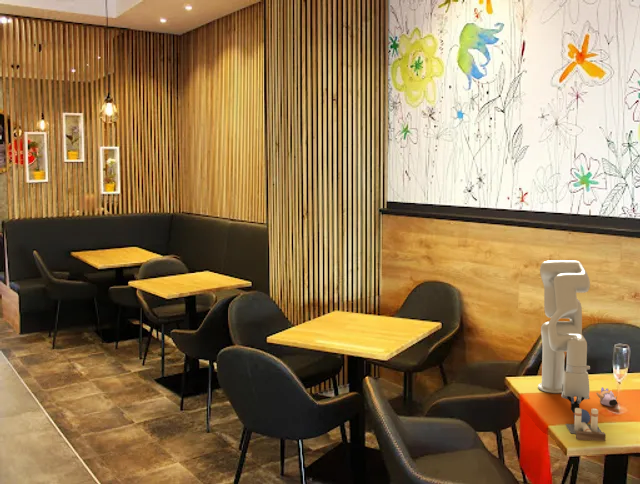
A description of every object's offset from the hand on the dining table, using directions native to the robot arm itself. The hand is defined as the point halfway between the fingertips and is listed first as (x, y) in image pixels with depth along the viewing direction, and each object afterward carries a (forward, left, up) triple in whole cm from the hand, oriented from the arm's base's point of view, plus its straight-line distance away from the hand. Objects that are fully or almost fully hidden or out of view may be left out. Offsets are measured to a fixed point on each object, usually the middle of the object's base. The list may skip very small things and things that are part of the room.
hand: (574, 412), depth 266 cm
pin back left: (+17, +3, -2) cm, 17 cm away
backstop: (+24, 0, -2) cm, 24 cm away
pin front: (+13, 0, 0) cm, 13 cm away
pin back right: (+17, -3, -2) cm, 17 cm away
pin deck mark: (+14, 0, -2) cm, 15 cm away
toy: (-16, +18, -2) cm, 23 cm away
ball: (+9, +1, +2) cm, 9 cm away
